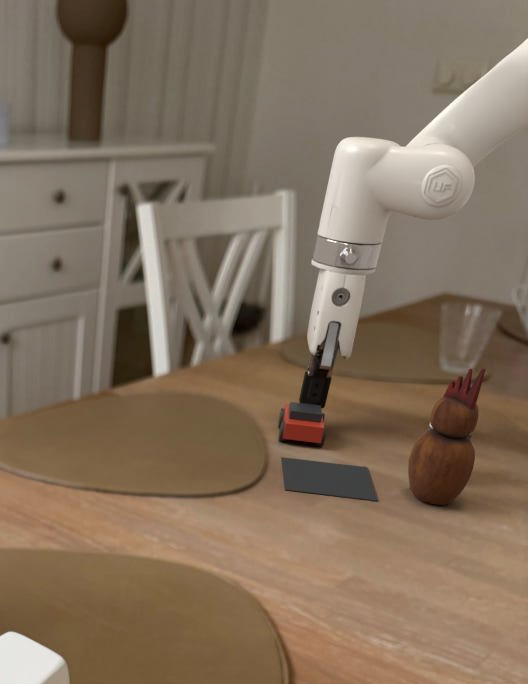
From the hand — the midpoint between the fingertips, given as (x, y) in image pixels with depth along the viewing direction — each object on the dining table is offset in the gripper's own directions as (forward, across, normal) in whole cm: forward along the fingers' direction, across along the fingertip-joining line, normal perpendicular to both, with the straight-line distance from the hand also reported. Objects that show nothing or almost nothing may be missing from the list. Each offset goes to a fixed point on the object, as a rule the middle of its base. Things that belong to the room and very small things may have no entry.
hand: (311, 405), depth 125 cm
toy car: (+1, -5, -2) cm, 5 cm away
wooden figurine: (+3, -20, -12) cm, 24 cm away
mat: (+3, -18, -1) cm, 19 cm away
